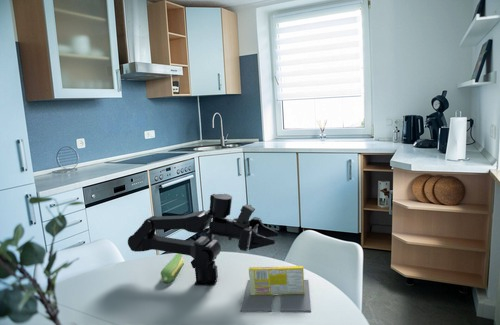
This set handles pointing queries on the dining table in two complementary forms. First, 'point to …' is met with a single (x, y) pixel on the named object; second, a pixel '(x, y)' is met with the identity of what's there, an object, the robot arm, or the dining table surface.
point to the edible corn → (172, 268)
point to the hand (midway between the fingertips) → (276, 238)
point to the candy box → (276, 280)
